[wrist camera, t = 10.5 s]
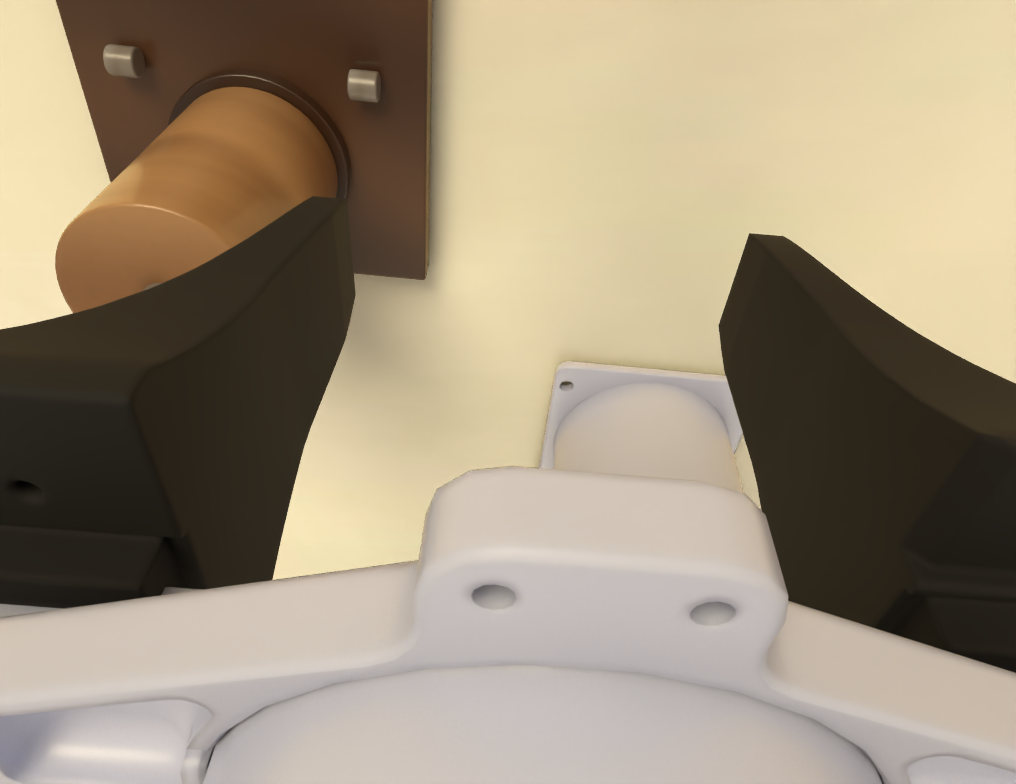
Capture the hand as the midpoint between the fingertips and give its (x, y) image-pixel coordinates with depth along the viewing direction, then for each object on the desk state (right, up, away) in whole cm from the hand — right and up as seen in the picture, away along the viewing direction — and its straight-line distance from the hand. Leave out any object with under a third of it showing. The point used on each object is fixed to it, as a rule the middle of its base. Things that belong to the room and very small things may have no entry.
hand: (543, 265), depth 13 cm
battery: (-8, +5, +9) cm, 13 cm away
